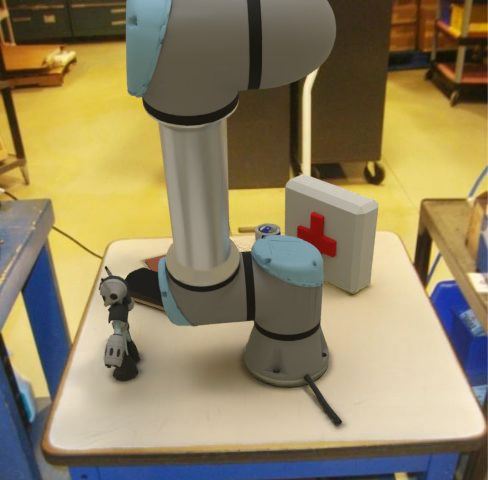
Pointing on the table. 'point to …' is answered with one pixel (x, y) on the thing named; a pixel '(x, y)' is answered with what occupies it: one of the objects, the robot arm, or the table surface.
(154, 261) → the pad
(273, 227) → the beverage can
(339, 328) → the table surface
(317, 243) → the bevelled white case
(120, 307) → the robot
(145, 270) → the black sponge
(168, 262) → the robot arm
